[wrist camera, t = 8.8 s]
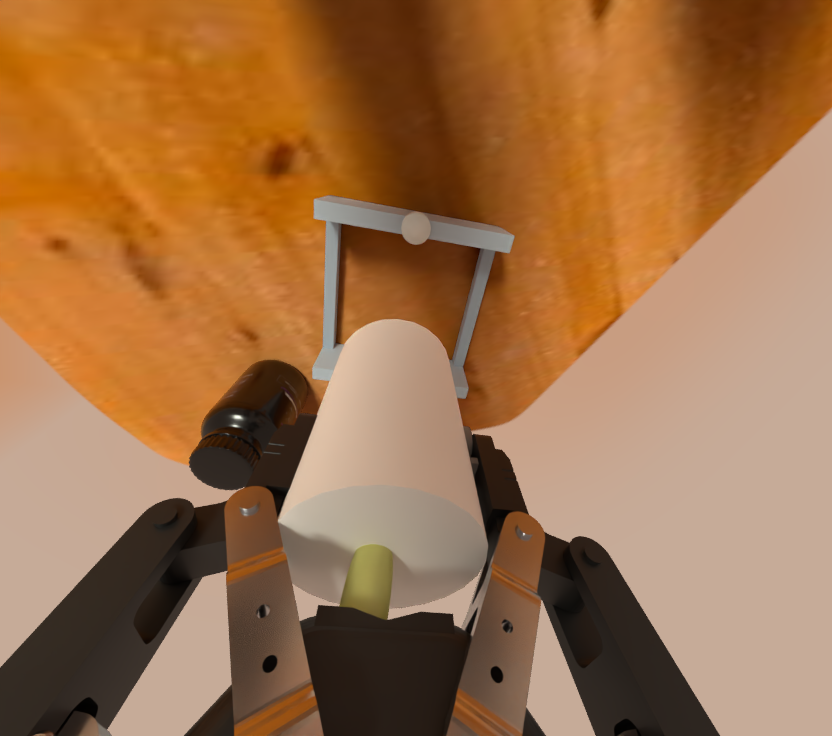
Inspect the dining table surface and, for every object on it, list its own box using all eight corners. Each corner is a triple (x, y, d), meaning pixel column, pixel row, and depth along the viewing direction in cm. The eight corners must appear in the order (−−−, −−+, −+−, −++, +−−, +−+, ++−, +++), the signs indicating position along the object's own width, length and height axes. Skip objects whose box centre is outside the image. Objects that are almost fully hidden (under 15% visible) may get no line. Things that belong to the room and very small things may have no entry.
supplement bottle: (322, 383, 35) (285, 470, 25) (286, 419, 38) (239, 511, 27) (266, 344, 33) (199, 422, 22) (232, 384, 35) (158, 472, 25)
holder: (330, 189, 26) (310, 193, 21) (499, 221, 27) (519, 231, 22) (325, 355, 33) (310, 387, 28) (457, 374, 35) (465, 407, 30)
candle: (445, 417, 20) (506, 837, 7) (339, 410, 20) (213, 843, 7) (462, 324, 17) (621, 779, 4) (337, 313, 17) (95, 783, 4)
